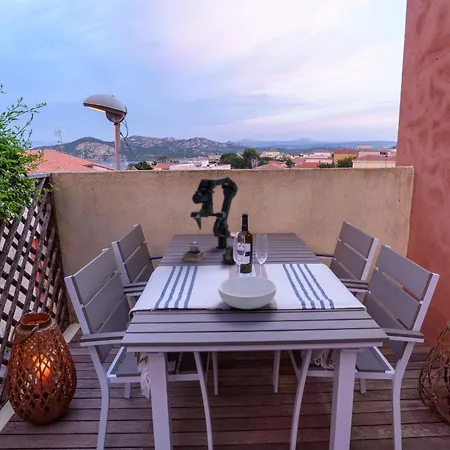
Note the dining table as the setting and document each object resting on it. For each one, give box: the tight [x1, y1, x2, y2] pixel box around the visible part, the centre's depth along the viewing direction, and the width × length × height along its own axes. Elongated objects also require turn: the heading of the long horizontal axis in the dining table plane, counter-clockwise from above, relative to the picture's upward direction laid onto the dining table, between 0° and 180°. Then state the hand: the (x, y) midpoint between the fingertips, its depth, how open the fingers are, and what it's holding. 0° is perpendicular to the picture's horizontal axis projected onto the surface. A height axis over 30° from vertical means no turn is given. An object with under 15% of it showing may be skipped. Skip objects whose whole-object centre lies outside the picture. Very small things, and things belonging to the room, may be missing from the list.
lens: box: [188, 241, 200, 254], centre depth 180 cm, size 5×5×7 cm
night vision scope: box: [221, 245, 236, 265], centre depth 175 cm, size 8×18×10 cm
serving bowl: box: [217, 275, 278, 310], centre depth 123 cm, size 21×21×7 cm
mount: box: [181, 249, 207, 263], centre depth 181 cm, size 10×10×4 cm
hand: (208, 229), depth 190 cm, fingers open, 9 cm apart
